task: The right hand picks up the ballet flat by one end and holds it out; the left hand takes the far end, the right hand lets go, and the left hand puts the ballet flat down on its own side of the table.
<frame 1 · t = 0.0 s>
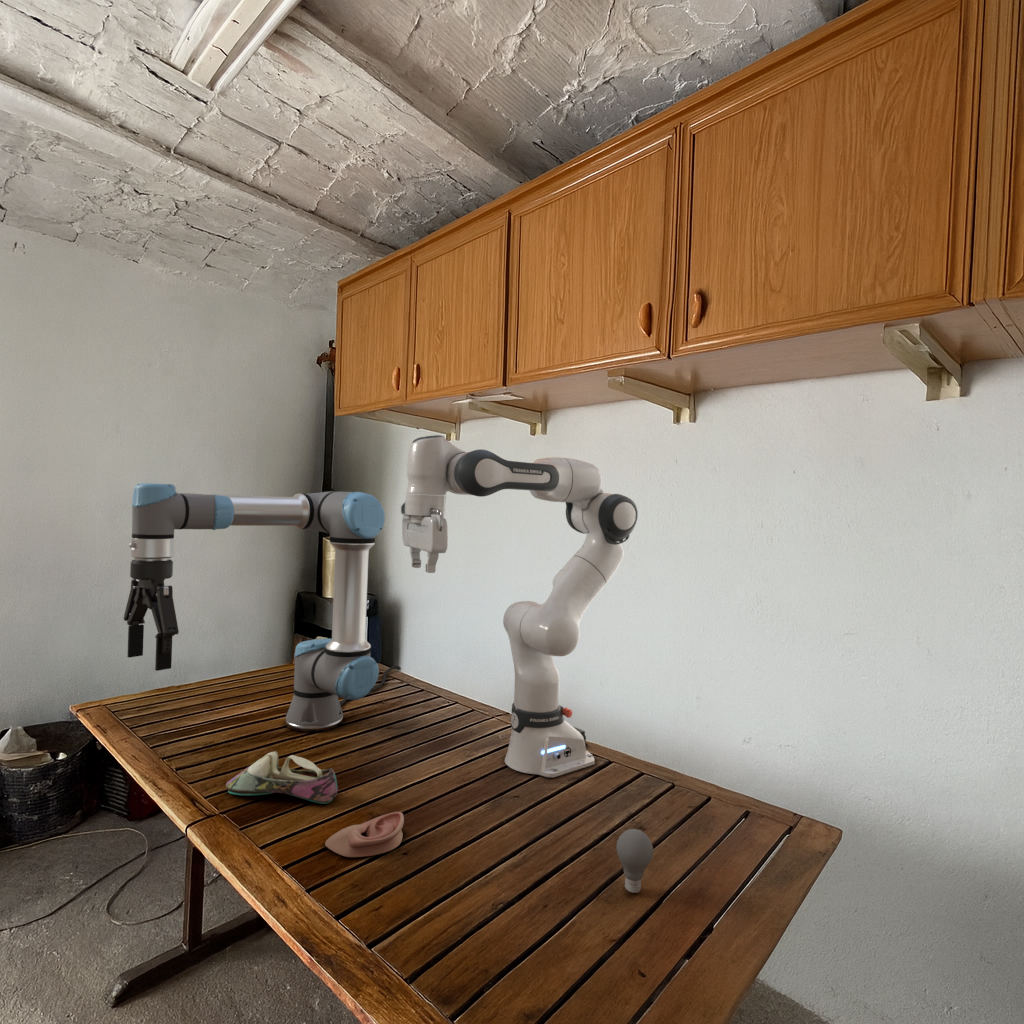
left hand: (148, 662, 129), 28 cm above the table, tool pointing down, fingers open, 13 cm apart
right hand: (423, 570, 141), 48 cm above the table, tool pointing down, fingers open, 8 cm apart
anatomical model: (364, 842, 117), on the table
light bulb: (632, 891, 106), on the table
ballet flat: (282, 795, 134), on the table
fossil: (331, 680, 216), on the table
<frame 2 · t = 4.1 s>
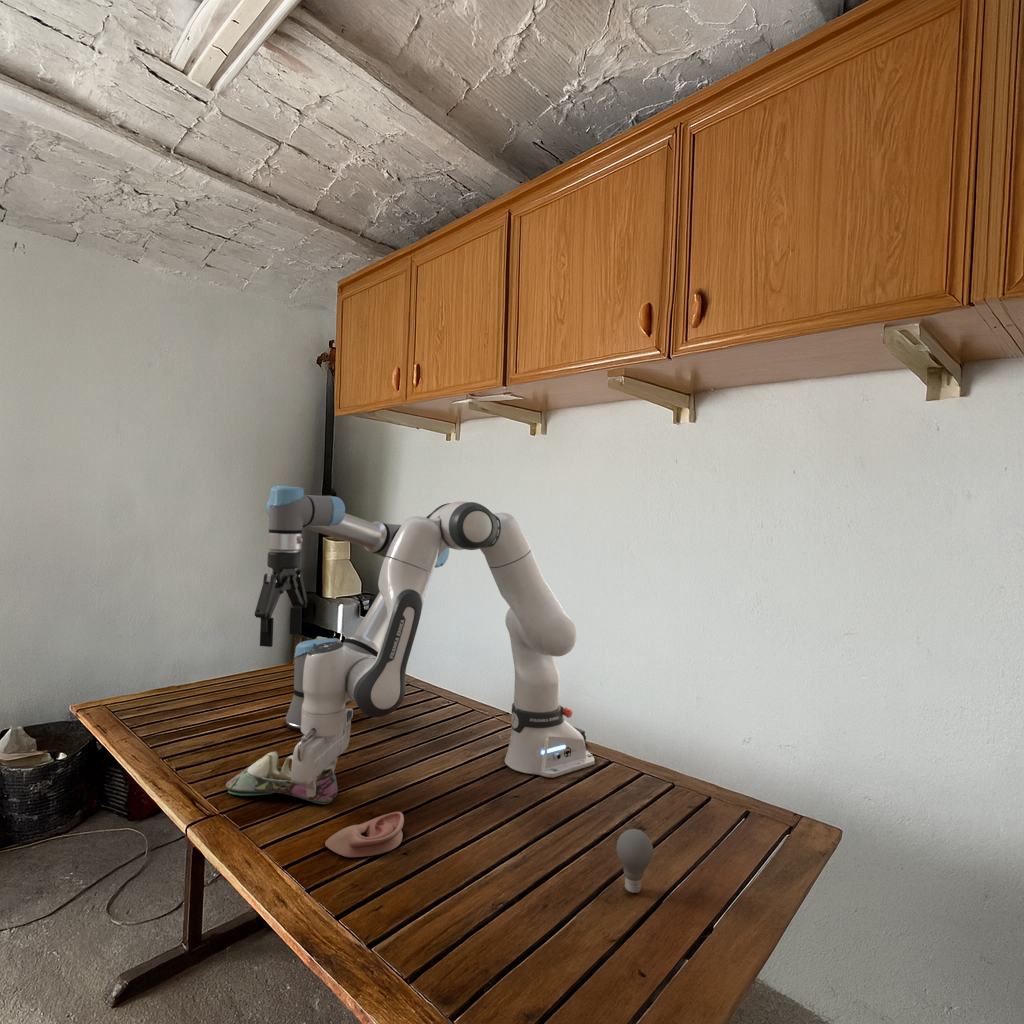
left hand: (281, 640, 151), 29 cm above the table, tool pointing down, fingers open, 13 cm apart
right hand: (320, 787, 132), 3 cm above the table, tool pointing down, fingers closed on ballet flat, 6 cm apart
ballet flat: (282, 795, 134), on the table, touching right hand
everything else where it was.
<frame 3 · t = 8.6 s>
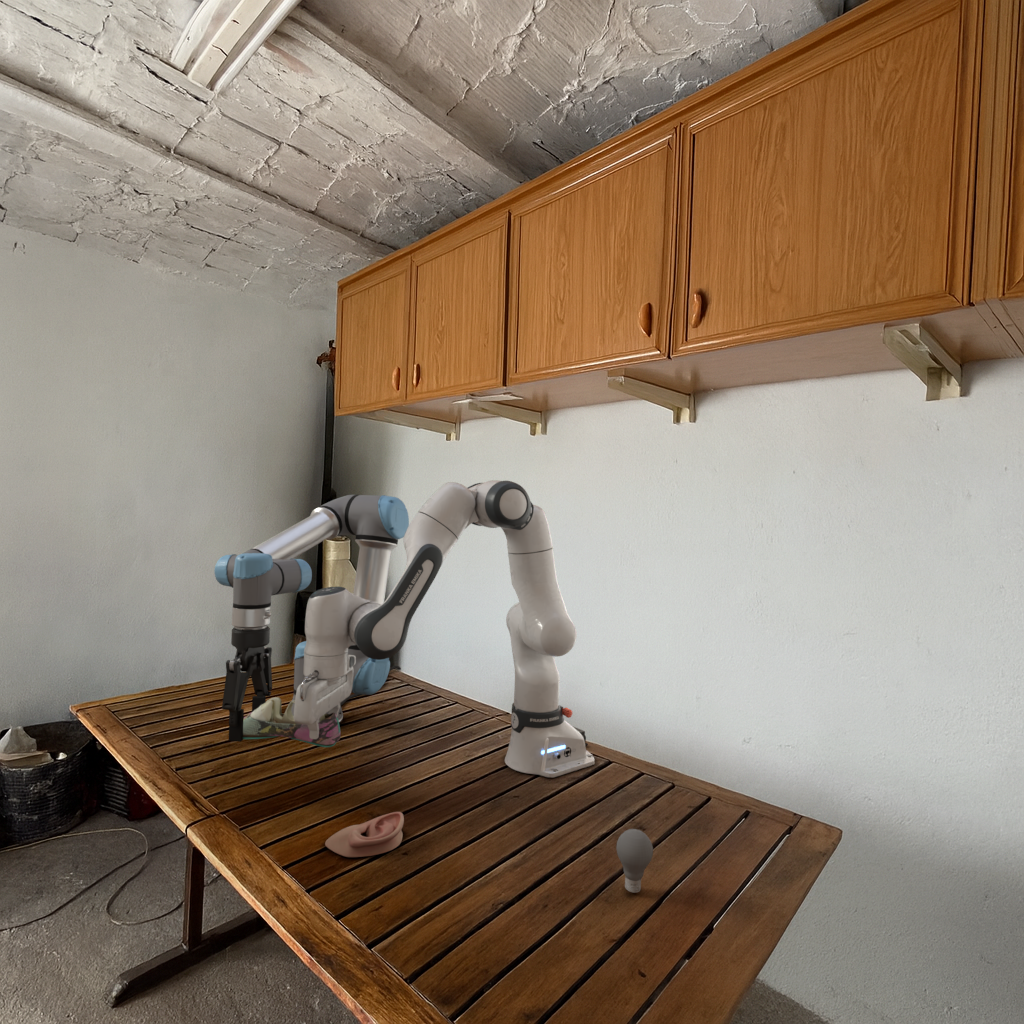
left hand: (247, 733, 135), 12 cm above the table, tool pointing down, fingers closed on ballet flat, 8 cm apart
right hand: (323, 731, 132), 14 cm above the table, tool pointing down, fingers closed on ballet flat, 6 cm apart
ballet flat: (285, 740, 134), point 12 cm above the table, touching left hand, right hand
everything else where it was.
when the right hand's fingers open (14 cm above the table, at t = 9.6 s): ballet flat moves 2 cm, held by the left hand.
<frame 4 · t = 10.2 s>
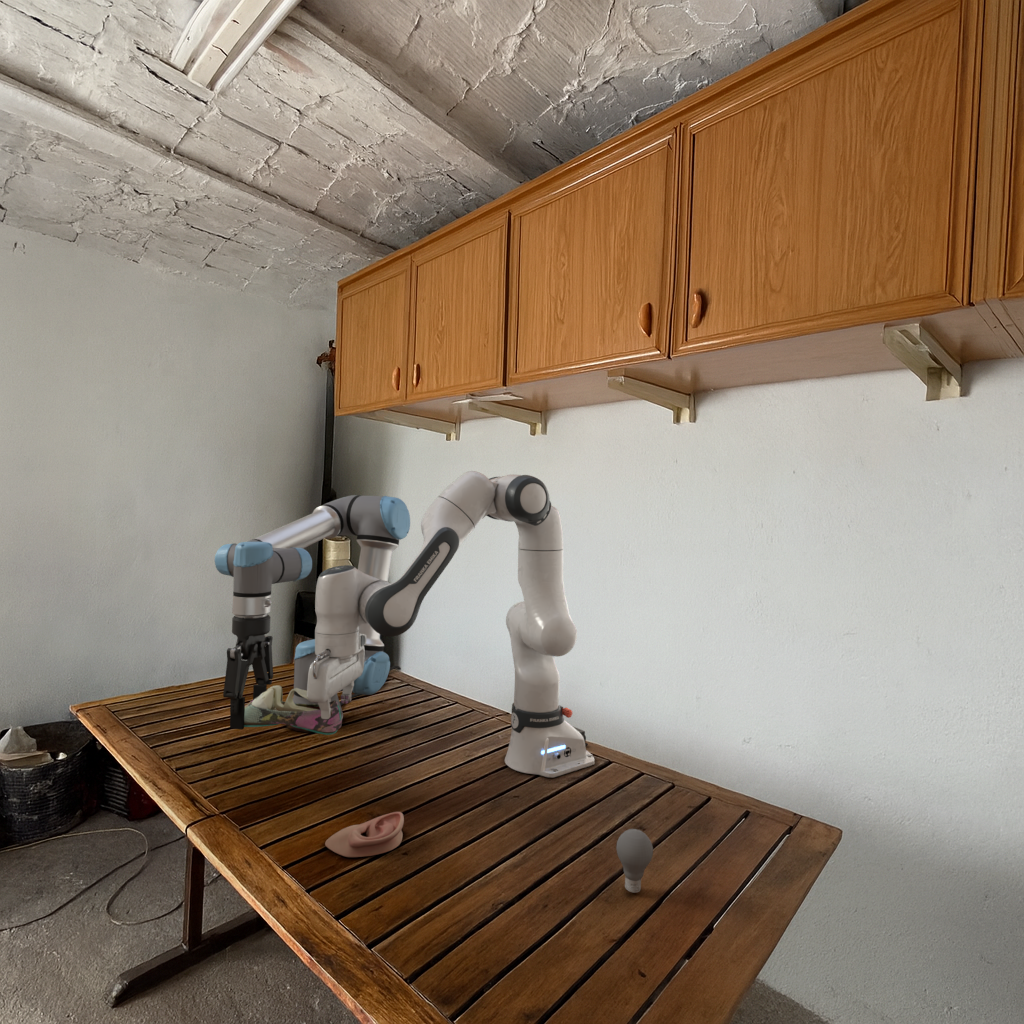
left hand: (248, 721, 135), 15 cm above the table, tool pointing down, fingers closed on ballet flat, 8 cm apart
right hand: (336, 709, 132), 19 cm above the table, tool pointing down, fingers open, 8 cm apart
ballet flat: (287, 727, 134), point 14 cm above the table, touching left hand
everything else where it was.
when the left hand's fingers open (2 cm above the table, at t = 19.1 s): ballet flat stays where it is, on the table.
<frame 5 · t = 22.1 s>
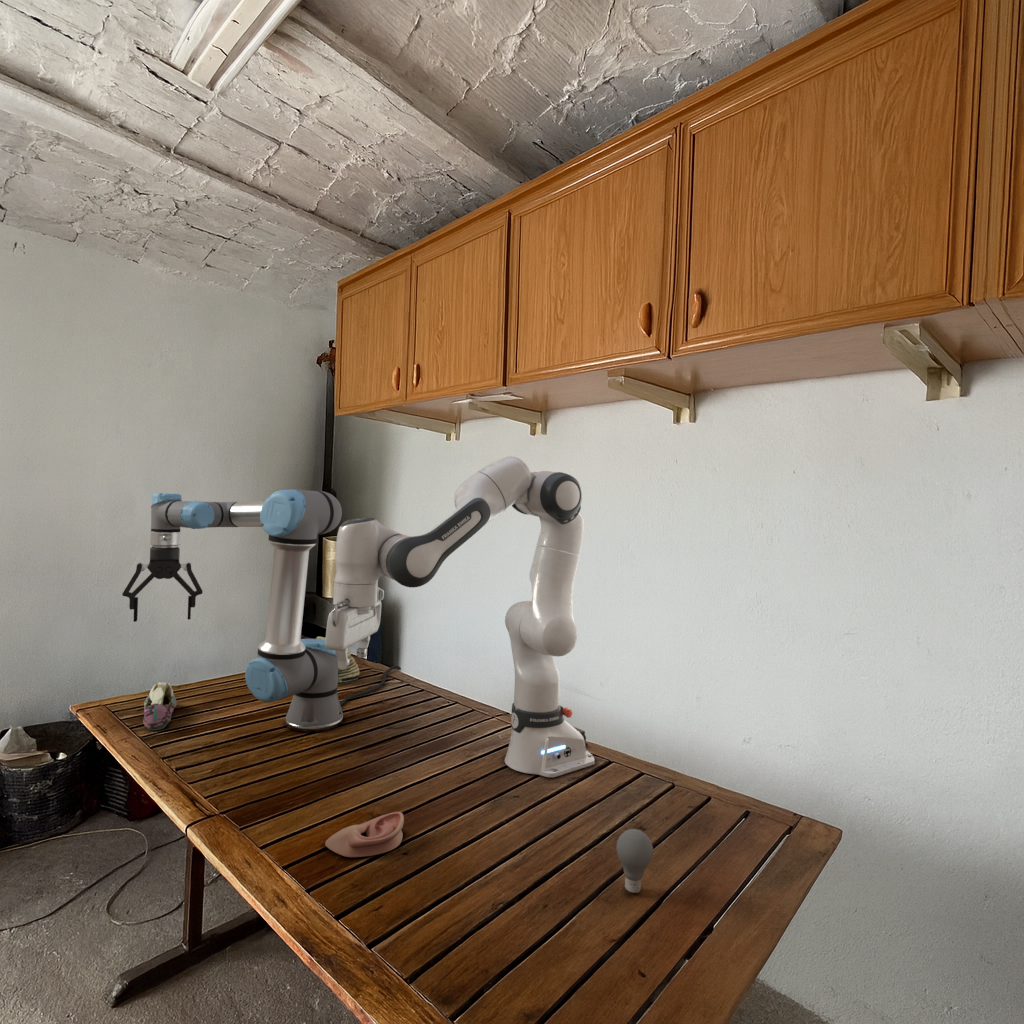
left hand: (162, 619, 183), 25 cm above the table, tool pointing down, fingers open, 13 cm apart
right hand: (352, 662, 131), 29 cm above the table, tool pointing down, fingers open, 8 cm apart
ballet flat: (159, 716, 176), on the table
everything else where it was.
at the end: ballet flat inside the target area (8.6 cm from its centre), on the table; the left hand is holding nothing; the right hand is holding nothing; ballet flat at rest at the end (0.0 cm/s) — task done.
